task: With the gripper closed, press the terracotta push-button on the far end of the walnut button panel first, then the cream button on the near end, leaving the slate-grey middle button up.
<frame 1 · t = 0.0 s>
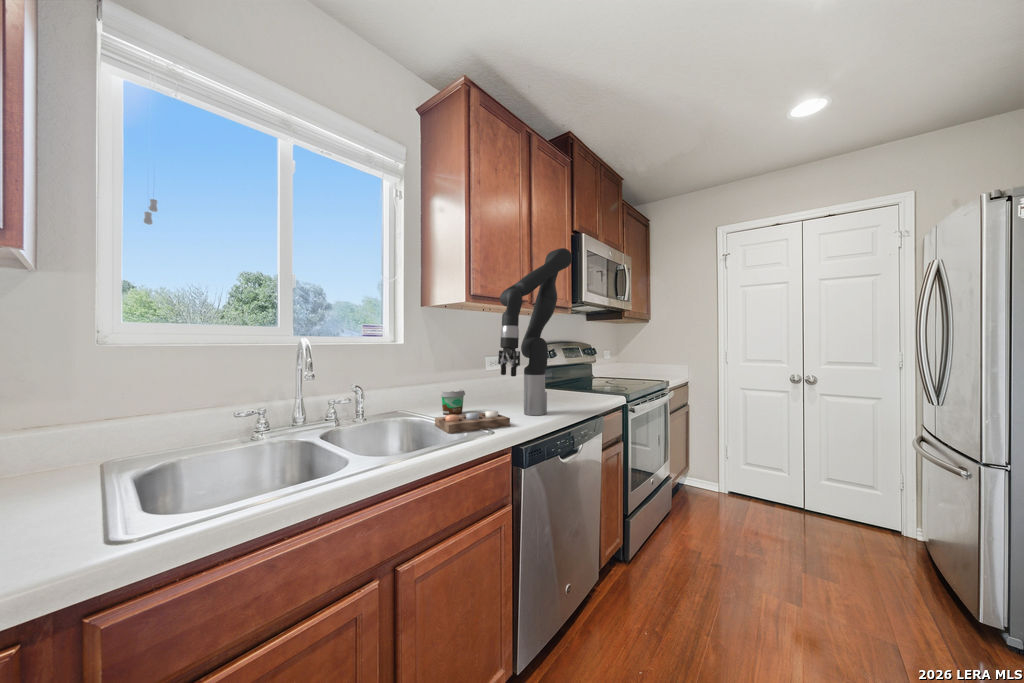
hand: (508, 375, 159), 17 cm above the worktop, tool pointing down, fingers open, 8 cm apart
slate button: (472, 417, 142), point 3 cm above the worktop, slide at 0.0 cm
cream button: (491, 415, 146), point 3 cm above the worktop, slide at 0.0 cm
food container: (455, 414, 165), on the worktop
terracotta button: (452, 419, 138), point 3 cm above the worktop, slide at 0.0 cm
button panel: (472, 425, 142), on the worktop
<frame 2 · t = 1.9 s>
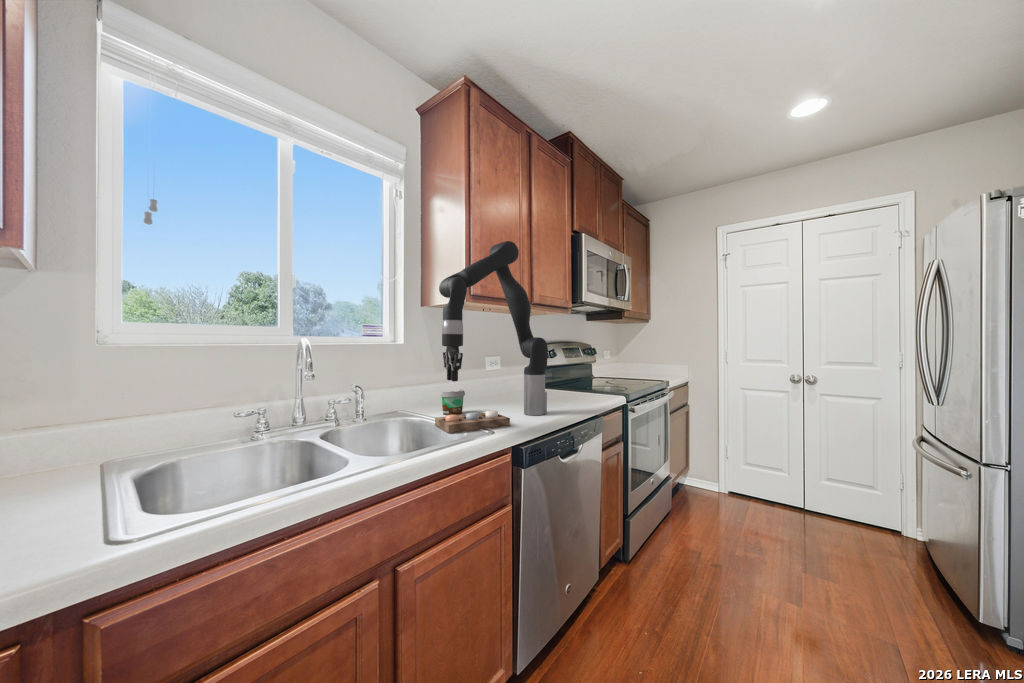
hand: (452, 380, 138), 17 cm above the worktop, tool pointing down, fingers open, 4 cm apart
nothing on the worktop moved.
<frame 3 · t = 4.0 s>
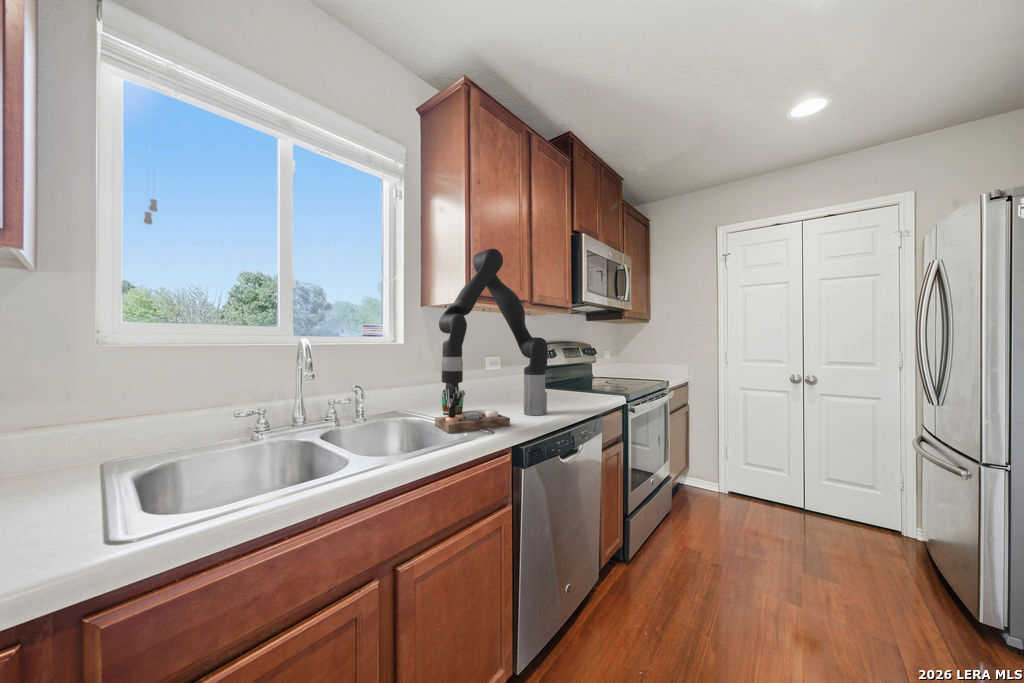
hand: (451, 417, 137), 4 cm above the worktop, tool pointing down, fingers closed
terracotta button: (452, 421, 138), point 2 cm above the worktop, slide at 0.6 cm, touching gripper
everything else where it was.
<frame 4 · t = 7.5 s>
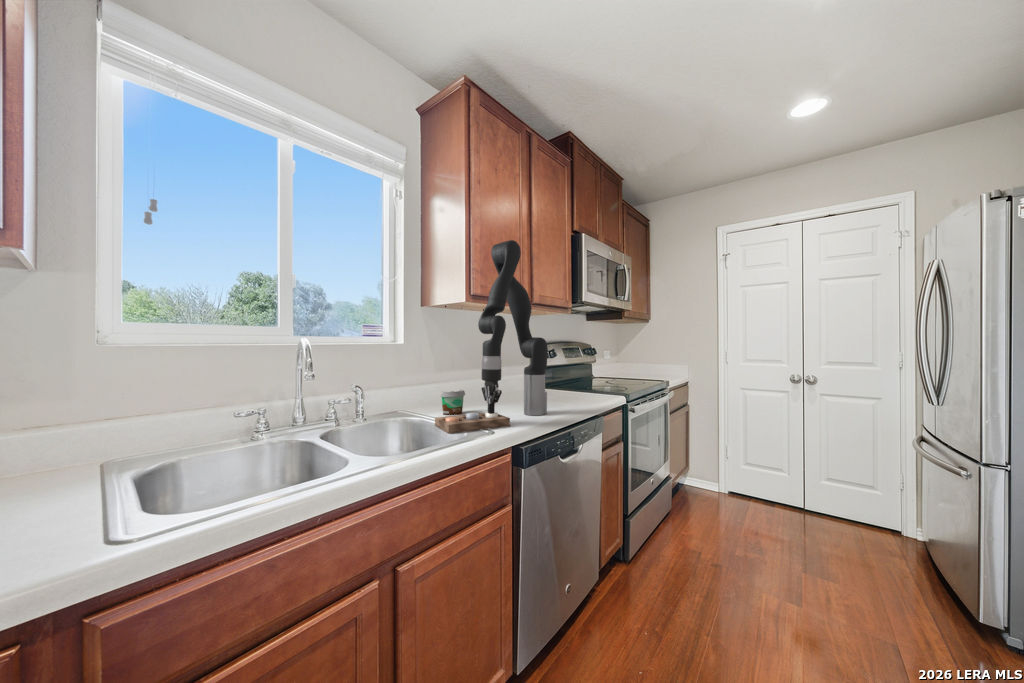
hand: (491, 413, 146), 4 cm above the worktop, tool pointing down, fingers closed
cream button: (491, 417, 146), point 2 cm above the worktop, slide at 0.5 cm, touching gripper
terracotta button: (452, 422, 138), point 2 cm above the worktop, slide at 0.8 cm
everything else where it was.
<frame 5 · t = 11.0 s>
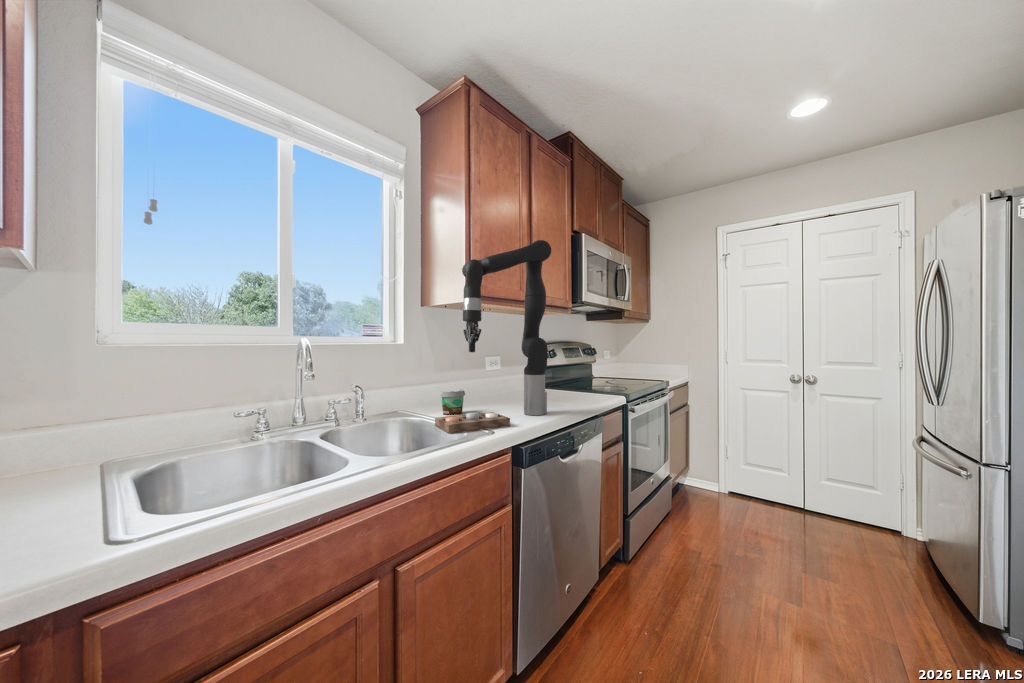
hand: (471, 352, 156), 27 cm above the worktop, tool pointing down, fingers closed
cream button: (491, 418, 146), point 2 cm above the worktop, slide at 0.8 cm
everything else where it was.
at the end: terracotta button slide at 0.8 cm; cream button slide at 0.8 cm; slate button slide at 0.0 cm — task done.
